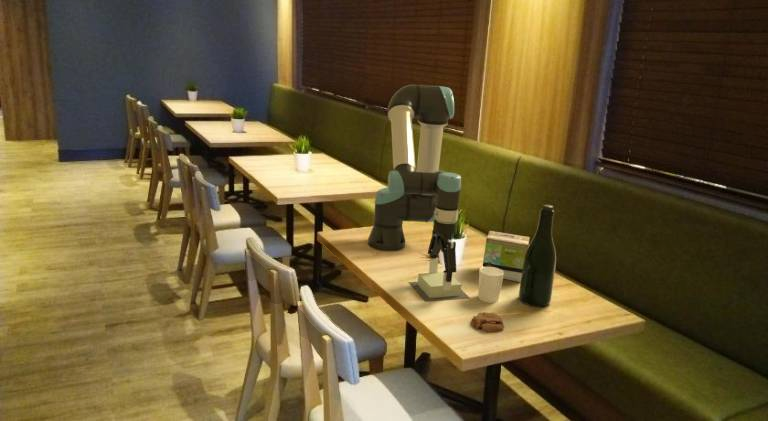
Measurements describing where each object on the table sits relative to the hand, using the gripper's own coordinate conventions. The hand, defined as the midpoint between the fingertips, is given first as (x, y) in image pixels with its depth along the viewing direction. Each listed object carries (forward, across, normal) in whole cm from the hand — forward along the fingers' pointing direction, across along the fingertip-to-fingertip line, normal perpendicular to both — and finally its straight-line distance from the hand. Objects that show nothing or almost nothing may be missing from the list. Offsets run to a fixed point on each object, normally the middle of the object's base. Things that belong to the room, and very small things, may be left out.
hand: (439, 283), depth 205 cm
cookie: (+3, +26, +5) cm, 27 cm away
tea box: (+3, -10, +30) cm, 32 cm away
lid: (+3, 0, 0) cm, 3 cm away
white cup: (+3, +9, +14) cm, 17 cm away
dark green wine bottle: (+3, +13, +29) cm, 32 cm away
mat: (+3, 0, 0) cm, 3 cm away
